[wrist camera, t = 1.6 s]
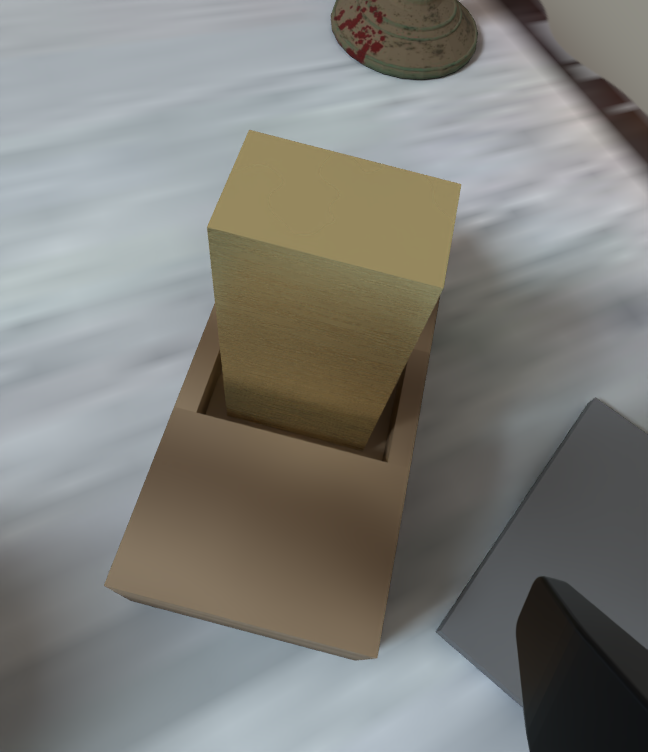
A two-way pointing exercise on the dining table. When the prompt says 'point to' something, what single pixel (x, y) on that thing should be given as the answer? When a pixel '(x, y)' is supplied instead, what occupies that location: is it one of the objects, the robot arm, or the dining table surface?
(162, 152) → the dining table surface
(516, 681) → the rubber mat
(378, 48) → the candlestick holder
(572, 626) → the robot arm
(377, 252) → the tan wood-grain block
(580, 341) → the dining table surface
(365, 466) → the body
